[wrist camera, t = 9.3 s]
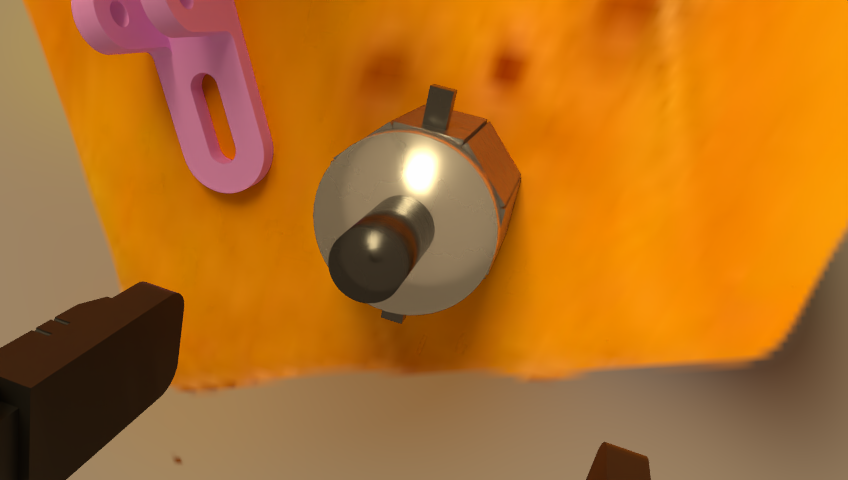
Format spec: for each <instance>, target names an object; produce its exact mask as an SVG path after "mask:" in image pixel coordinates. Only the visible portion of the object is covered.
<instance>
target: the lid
mask: <svg viewBox="0 0 848 480" xmlns="http://www.w3.org/2000/svg"><path fill="white" fill-rule="evenodd" d="M313 218H314V230H315V235H316V240H317V243H318V246H319V249H320V252H321V254H322V256H323V258H324V261H325V262H326V264H327V266H328V267H329V271H330V275H331V277H332V279H333V281H334V283H335V285H336V286H337V287H338V288H339V290H340V291H341V292H342V293H344V294H345V295H346V296H348V297H349V298H351V299H353V300H355V301H358V302H362V303H367V304H369V305H371V306H373V307H375V308H378V309H381V310H384V311H387V312H391V313H395V314H402V315H424V314H430V313H435V312H438V311H442V310H444V309H447V308H449V307H451V306H453V305H455V304H457V303H458V302H460V301H462V300H463V299H464V298H466V297H467V296H468V295H469V294H470V293H472V292H473V290H474V289H475V288H476V287H477V286H478V285H479V284H480V282H481V281H482V279H483V278H484V276H485V275H486V273H487V271H488V269H489V267H490V265H491V263H492V261H493V258H494V256H495V253H496V250H497V247H498V244H499V238H500V229H501V218H500V209H499V204H498V200H497V196H496V194H495V191H494V189H493V186H492V184H491V182H490V180H489V178H488V177H487V175H486V173H485V172H484V170H483V169H482V168H481V166H480V165H479V164H478V163H477V162H476V160H475V159H474V158H473V157H472V156H471V155H470V154H469V153H467V152H466V151H465V150H464V149H463V148H461V147H460V146H459V145H457V144H455V143H454V142H452V141H451V140H449V139H447V138H444V137H442V136H440V135H438V134H435V133H431V132H428V131H424V130H418V129H407V128H400V129H390V130H386V131H382V132H378V133H376V134H373V135H371V136H368V137H366V138H364V139H362V140H360V141H358V142H357V143H355V144H353V145H351V146H350V147H348V148H347V149H346V150H345V151H343V152H342V153H341V154H340V155H339V156H338V157H337V158H336V159H335V160H334V161H333V162H332V163H331V165H330V166H329V168H328V169H327V170H326V172H325V174H324V176H323V178H322V180H321V182H320V184H319V187H318V190H317V193H316V198H315V202H314V213H313Z"/></svg>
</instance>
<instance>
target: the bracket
mask: <svg viewBox="0 0 848 480" xmlns="http://www.w3.org/2000/svg"><path fill="white" fill-rule="evenodd" d="M71 4H72V14H73V18H74V21H75V23H76V26H77V28H78V30H79V32H80V34H81V35H82V37H83V38H84V39H85V41H86V42H87V43H88V44H89V45H90V46H91V47H92V48H94V49H95V50H96V51H98V52H100V53H103V54H107V55H112V54H126V53H139V52H148V53H149V54H151V56H152V57H153V59H154V62H155V65H156V68H157V71H158V75H159V78H160V81H161V84H162V88H163V91H164V94H165V97H166V100H167V104H168V107H169V110H170V113H171V117H172V120H173V123H174V126H175V129H176V133H177V136H178V139H179V142H180V146H181V149H182V152H183V155H184V158H185V161H186V163H187V165H188V167H189V169H190V171H191V172H192V174H193V175H194V176H195V177H196V178H197V179H198V180H199V181H200V182H201V183H202V184H203V185H205V186H206V187H208V188H210V189H212V190H214V191H217V192H221V193H236V192H240V191H242V190H245V189H247V188H249V187H251V186H253V185H255V184H257V183H258V182H259V181H261V180H262V179H263V178H264V177H265V175H266V174H267V172H268V171H269V168H270V166H271V163H272V159H273V143H272V138H271V134H270V131H269V127H268V124H267V120H266V116H265V113H264V109H263V105H262V102H261V98H260V94H259V91H258V87H257V83H256V80H255V76H254V72H253V69H252V65H251V62H250V58H249V54H248V51H247V47H246V43H245V40H244V36H243V32H242V29H241V25H240V21H239V18H238V14H237V11H236V7H235V3H234V0H72V3H71ZM206 74H209V75H211V76H212V77H213V78H214V79H215V81H216V82H217V85H218V88H219V92H220V95H221V99H222V102H223V106H224V109H225V113H226V116H227V119H228V123H229V126H230V130H231V133H232V137H233V140H234V144H235V147H236V155H235V158H234V159H233V160H230V159H228V158H227V157H225V156H224V155H223V153H222V152H221V150H220V147H219V143H218V140H217V137H216V133H215V130H214V127H213V123H212V120H211V116H210V113H209V110H208V106H207V103H206V99H205V96H204V93H203V89H202V80H203V78H204V76H205V75H206Z"/></svg>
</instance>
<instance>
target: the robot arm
mask: <svg viewBox="0 0 848 480" xmlns="http://www.w3.org/2000/svg"><path fill="white" fill-rule="evenodd" d="M183 312H184V300H183V297H182V295H181V294H179V293H176V292H173V291H170V290H167V289H164V288H162V287H159V286H156V285H153V284H150V283H147V282H139V283H137V284H135V285H134V286H132V287H130V288H129V289H127V290H125V291H124V292H122V293H120V294H119V295H117V296H115V297H113V298H109V297H105V298H100V299H97V300H93V301H89V302H86V303H82V304H78V305H76V306H74V307H72V308H71V309H69V310H67V311H65V312H64V313H62V314H60V315H58V316H56V317H55V319H54V321H53V320H49V321H48V322H46V323H44V324H42V325H40V326H39V327H37V328H36V330H35V331H30V332H28V333H26V334H24V335H23V336H21V337H19V338H17V339H15V340H14V341H12V342H10V343H9V344H7V345H5V346H3V347H1V348H0V480H66V479H67V478H68V477H70V476H71V475H72V474H73V473H74V472H75V471H77V470H78V469H79V468H80V467H81V466H82V465H83V464H84V463H86V462H87V461H88V460H89V459H90V458H91V457H92V456H94V455H95V454H96V453H97V452H98V451H99V450H100V449H102V448H103V447H104V446H105V445H106V444H107V443H108V442H110V441H111V440H112V439H113V438H114V437H115V436H116V435H117V434H118V433H120V432H121V431H122V430H123V429H124V428H125V427H127V425H129V424H130V423H131V422H132V421H133V420H134V419H136V418H137V417H138V416H139V415H140V414H141V413H143V412H144V411H145V410H146V409H147V408H148V407H149V406H150V405H152V404H153V403H154V402H155V401H156V400H157V399H158V398H159V397H161V396H162V395H163V394H164V392H165V391H166V390H167V388H168V387H169V385H170V384H171V382H172V380H173V377H174V375H175V372H176V369H177V364H178V356H179V347H180V338H181V330H182V321H183ZM586 480H651V478H650V469H649V461H648V458H647V456H644V455H641V454H638V453H635V452H632V451H629V450H627V449H624V448H621V447H618V446H615V445H612V444H609V443H606V442H603V443H602V445H601V446H600V448H599V450H598V452H597V454H596V457H595V459H594V461H593V464H592V466H591V469H590V471H589V474H588V476H587V479H586Z"/></svg>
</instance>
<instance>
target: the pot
mask: <svg viewBox="0 0 848 480" xmlns="http://www.w3.org/2000/svg"><path fill="white" fill-rule="evenodd" d="M456 94H457V90H456V89H452V88H448V87H444V86H440V85H436V84H433V85H430V89H429V94H428V99H427V103H426V105H423V106H421V107H419V108H417V109H415V110H413V111H411V112H409V113H407V114H405V115H403V116H401V117H398V118H396V119H394V120H392V121H390V122H389V123H387V124H386V125H384V126H382V127H381V128H379V129H378V130H376V131H375V132H373V133H371V134H370V135H368V136H371V135H373V134H376V133H378V132H382V131H386V130H390V129H400V128H407V129H418V130H424V131H428V132H431V133H435V134H438V135H440V136H442V137H444V138H447V139H449V140H451V141H452V142H454V143H455V144H457V145H459V146H460V147H461V148H463V149H464V150H465V151H466V152H467V153H469V154H470V155H471V156H472V157H473V158H474V159H475V160H476V162H477V163H478V164H479V165H480V166H481V168H482V169H483V170H484V172H485V173H486V175H487V177H488V178H489V180H490V182H491V184H492V186H493V189H494V191H495V194H496V196H497V200H498V204H499V209H500V218H501V229H500V238H499V244H498V247H497V250H496V253H495V256H494V258H493V261H492V263H491V265H490V267H489V269H488V271H487V273H486V275H485V276H484V278H483V279H485V278H486V276H487V275H488V274H489V272H490V269H491V267H492V265H493V262H494V260H495V258H496V255H497V253H498V251H499V249H500V246H501V244H502V242H503V239H504V237H505V235H506V232H507V228H508V224H509V221H510V217H511V214H512V210H513V206H514V203H515V199H516V195H517V192H518V188H519V184H520V181H521V178H520V175H521V174H520V172H519V170H518V169H517V167H516V165H515V164H514V162H513V160H512V158H511V157H510V155H509V153H508V152H507V150H506V148H505V147H504V145H503V143H502V142H501V140H500V138H499V136H498V135H497V133H496V131H495V130H494V128H493V126H492V125H491V123H490V122H488V123H486V120H487V119H484V118H480V117H476V116H472V115H468V114H464V113H461V112H457V111H453V107H454V103H455V98H456ZM368 136H367V137H368ZM365 138H366V137H365ZM340 154H341V153H340ZM340 154H339V155H340ZM339 155H337V156H336V157H334V159H336V158H337V157H338V156H339ZM333 161H334V160H333ZM333 161H331V163H332V162H333ZM483 279H482V280H483ZM381 318H385V319H388V320H391V321H394V322H397V323H401V324H402V322H403V321H404V319H405V318H406V315H402V314H395V313H391V312H387V311H384V310H382V315H381Z"/></svg>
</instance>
